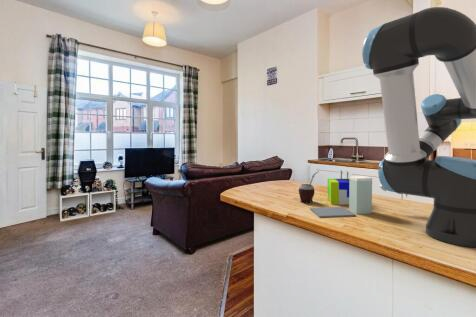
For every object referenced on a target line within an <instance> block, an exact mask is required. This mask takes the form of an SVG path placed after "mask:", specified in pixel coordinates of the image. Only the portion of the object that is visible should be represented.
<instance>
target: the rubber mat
mask: <svg viewBox="0 0 476 317" xmlns="http://www.w3.org/2000/svg"><path fill="white" fill-rule="evenodd" d="M309 210H310V211H311V212H312V213H314V214H315V215H316V216H317V217H318V218H320V219H321V218H340V217H341V218H345V217H348V218H349V217H356V216H357V214H355V213H354V212H352V211H350V210H349V209H347V208H346V207H344V206H332V207H331V206H330V207H329V206H328V207H309Z"/></svg>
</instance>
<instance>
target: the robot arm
mask: <svg viewBox="0 0 476 317" xmlns="http://www.w3.org/2000/svg"><path fill="white" fill-rule="evenodd" d="M361 49H362V50H361V52H362V53H361V55H362V62H363V64H364V67H365V68H366V69H368V70H370V71H371V70H372V73H373V75H372V76H374V77H375V78H377V79H379V83H380V93H381V100H382V102H381V103H382V108H383V118H384V125H385V133H386V134H385V135H386V144H387V149H388V151H387V152H386V153H385V154H384V155H383V159H382V160H381V161H380V162H379V165H378V170H377V172H378V173H377V175H378V179H379V182H380V184H379V185H378V187H379V188H380V189H381V190H383V191H384V192H392V193H396V194H399V195H409V196H416V197H421V198H422V197H423V198H430V199H433V207H432V211H431V212H430V215H429V217H428V219H427V221H426V223H425V233H426V235H428V236H429V237H430V238H433V239H436V240H437V241H441V242H443V243H447V244H452V245H456V246H462V247H468V248H476V159H472V158H467V157H466V158H465V157H458V156H447V155H439V156H437V155H436V156H435V158H434V160H433V159H432V160H431V159H429V160H428V158H429V157H430V156H431V155H432V154H434V151H436V150H437V149H438V148H439V146H441V144H443V143H444V142H445V141H446V140H447V139H448V138H449V137H450V136H451V135H452V134H453V133H454V132H455V131H456V130H457V129H458V128H459V126H461V124H462V120H471V119H472V120H473V119H476V22H474V21H473V20H472V19H471V17H469V16H467V15H466V14H464V13H462V12H461V11H458V10H457V9H454V8H449V7H444V6H443V7H441V6H435V7H428V8H425V9H421V10H420V11H418V12H414V13H412V14H409V15H406V16H403V17H400V18H398V19H394V20H391V21H389V22H385V23H383V24H381V25H378V26H376V27H375V28H373V29H371V30H370V31H368V33H367V34H366V36H365V39H364V41H363V43H362V48H361ZM427 56H428V57H429V56H434V57H435V58H436V60H437V61H439V62H441V63H443V64H444V66H445V68H446V70H447V73H448V74H449V76H450V78H451V80H452V83H453V84H454V87H455V89H456V91H457V93H458V96H459V97H457V98H448V99H447V98H446V97H445V95H443V94H439V93H434V94H431V95H428V96H426V97H425V98H424V99H422V100H421V102H420V108H421V111H422V112H421V113H422V115H423V117H424V119H425V121H426V123H427V125H428V126H427V128H426V129H425V130H424V131H423V132H422V133H420V134H419V123H418V122H419V121H418V112H417V101H416V89H415V80H414V71H415V70H416V68H418V66H419V65H420V64H419V62H420V61H419V59H420V58H424V57H427Z"/></svg>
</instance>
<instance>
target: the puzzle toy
mask: <svg viewBox="0 0 476 317" xmlns="http://www.w3.org/2000/svg"><path fill="white" fill-rule="evenodd" d="M327 200H328V202H329V204H330V205H348V206H349V178H327Z"/></svg>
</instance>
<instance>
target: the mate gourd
mask: <svg viewBox="0 0 476 317" xmlns="http://www.w3.org/2000/svg"><path fill="white" fill-rule="evenodd" d="M318 173H320V171H319V170H317V171H316V172H314V174H312V176H311V178H310V182H309V184H308V183H305V184H304V183H303V184H300V186H299V187H298V195H299V199H300V202H301V204H302V202H304V203H306V204H307V203H308V204H309V203H312V202H313V198H314V196H315V187H314V185H312V182H313V180H314V178H315V176H316V174H318Z"/></svg>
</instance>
